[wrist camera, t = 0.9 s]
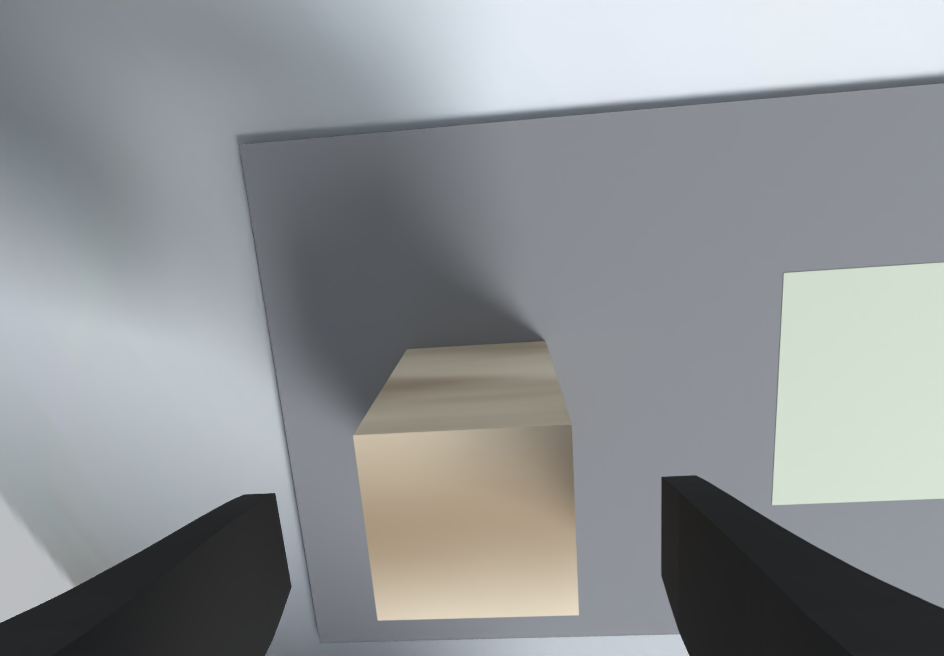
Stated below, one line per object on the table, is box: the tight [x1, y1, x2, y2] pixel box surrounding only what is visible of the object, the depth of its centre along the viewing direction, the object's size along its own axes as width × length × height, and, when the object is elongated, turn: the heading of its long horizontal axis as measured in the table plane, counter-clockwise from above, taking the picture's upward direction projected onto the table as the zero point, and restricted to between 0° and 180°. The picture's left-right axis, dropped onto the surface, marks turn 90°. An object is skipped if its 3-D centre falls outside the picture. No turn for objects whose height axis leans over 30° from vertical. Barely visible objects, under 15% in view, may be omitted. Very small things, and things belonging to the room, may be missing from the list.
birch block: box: [353, 341, 579, 621], centre depth 13 cm, size 4×4×6 cm
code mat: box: [239, 83, 944, 643], centre depth 16 cm, size 16×24×1 cm, turn 94°
